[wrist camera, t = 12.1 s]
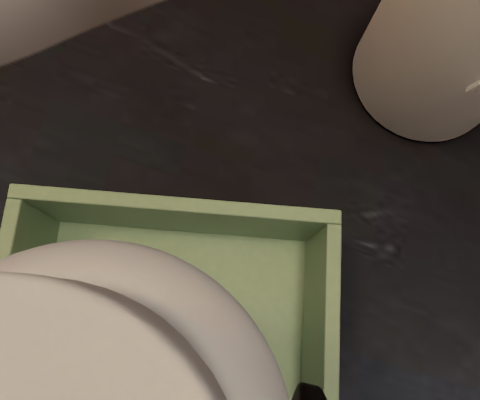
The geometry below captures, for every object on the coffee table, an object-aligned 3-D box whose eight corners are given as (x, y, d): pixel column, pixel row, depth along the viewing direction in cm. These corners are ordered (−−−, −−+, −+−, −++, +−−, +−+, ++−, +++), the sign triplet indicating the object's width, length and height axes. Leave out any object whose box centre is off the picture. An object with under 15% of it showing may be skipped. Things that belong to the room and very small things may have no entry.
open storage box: (306, 530, 20) (336, 601, 15) (0, 512, 19) (-74, 578, 14) (315, 232, 23) (342, 209, 18) (54, 211, 22) (8, 182, 18)
